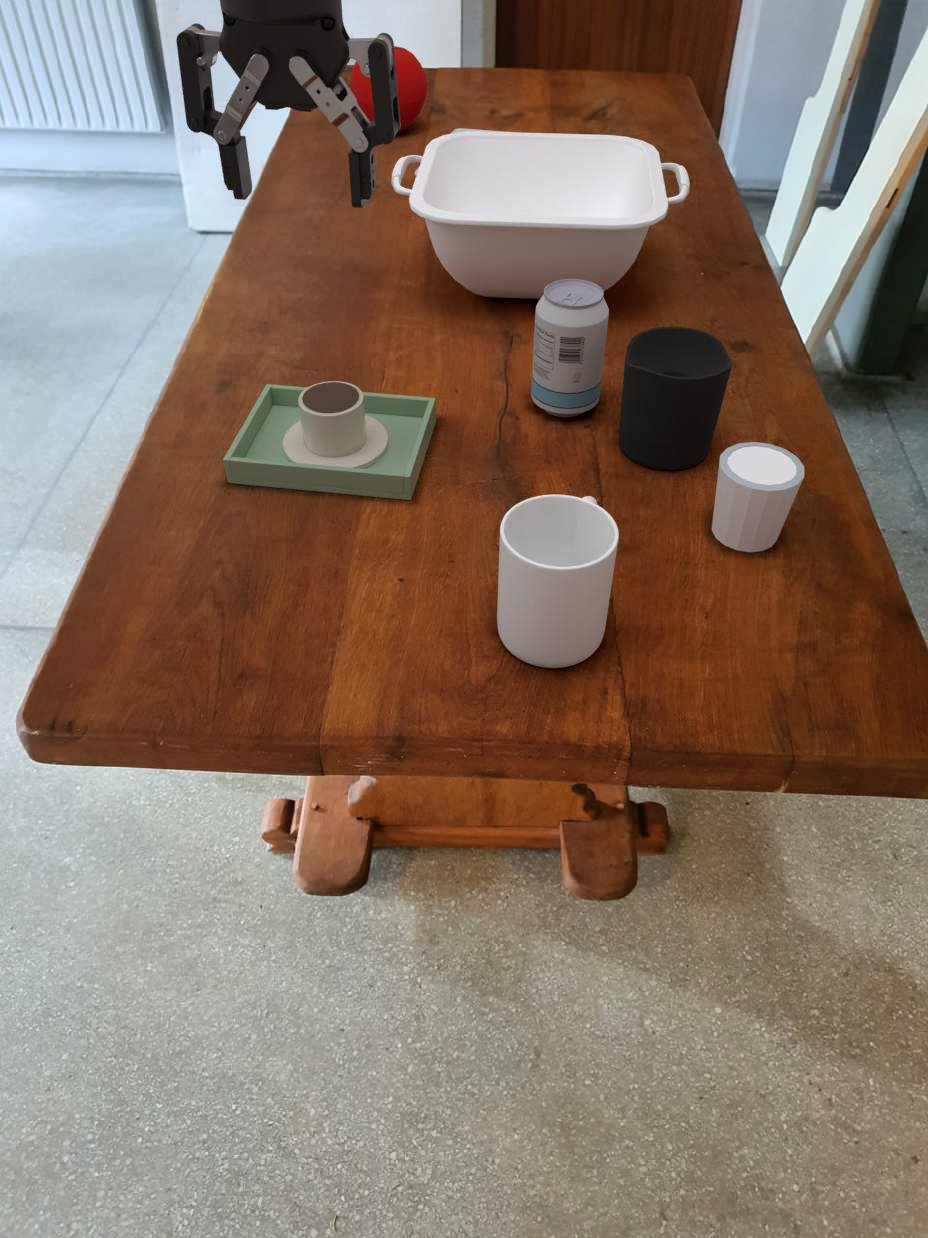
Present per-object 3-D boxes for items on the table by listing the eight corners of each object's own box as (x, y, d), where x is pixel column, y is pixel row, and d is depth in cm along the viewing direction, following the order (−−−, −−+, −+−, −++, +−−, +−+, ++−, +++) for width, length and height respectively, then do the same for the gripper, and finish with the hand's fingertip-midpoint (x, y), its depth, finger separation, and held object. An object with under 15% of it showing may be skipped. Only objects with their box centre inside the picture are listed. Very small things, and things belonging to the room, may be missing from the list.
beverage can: (610, 398, 97) (623, 286, 89) (578, 430, 93) (589, 316, 85) (551, 379, 100) (559, 269, 91) (517, 409, 96) (522, 296, 87)
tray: (227, 483, 87) (222, 459, 85) (270, 406, 96) (266, 383, 94) (411, 500, 85) (409, 476, 83) (436, 420, 94) (435, 397, 92)
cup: (478, 649, 72) (480, 547, 65) (539, 556, 79) (547, 456, 72) (581, 685, 69) (594, 583, 62) (633, 585, 77) (650, 484, 70)
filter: (270, 470, 87) (261, 421, 84) (299, 411, 94) (293, 364, 91) (375, 480, 86) (371, 431, 83) (397, 420, 93) (395, 373, 90)
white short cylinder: (792, 519, 83) (812, 452, 78) (775, 565, 79) (796, 498, 74) (714, 499, 85) (730, 432, 80) (695, 543, 81) (710, 476, 76)
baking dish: (665, 233, 126) (680, 131, 118) (681, 336, 106) (701, 223, 97) (412, 225, 129) (408, 124, 120) (381, 324, 108) (374, 212, 99)
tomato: (348, 140, 153) (341, 52, 144) (359, 117, 161) (352, 32, 152) (424, 142, 152) (422, 53, 143) (431, 118, 160) (429, 33, 152)
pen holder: (730, 442, 91) (752, 348, 84) (680, 487, 86) (699, 391, 79) (647, 408, 96) (662, 316, 89) (595, 449, 91) (606, 354, 84)
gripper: (133, -75, 54) (187, 213, 65) (377, -66, 53) (389, 227, 64) (179, -94, 60) (222, 175, 71) (402, -86, 58) (409, 187, 69)
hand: (302, 199), depth 67 cm, fingers open, 8 cm apart
